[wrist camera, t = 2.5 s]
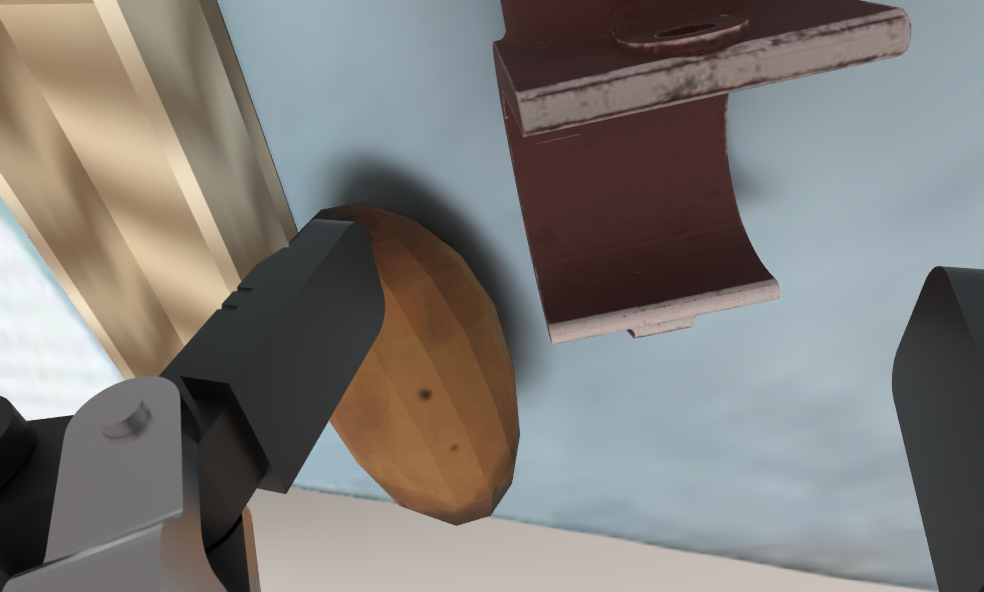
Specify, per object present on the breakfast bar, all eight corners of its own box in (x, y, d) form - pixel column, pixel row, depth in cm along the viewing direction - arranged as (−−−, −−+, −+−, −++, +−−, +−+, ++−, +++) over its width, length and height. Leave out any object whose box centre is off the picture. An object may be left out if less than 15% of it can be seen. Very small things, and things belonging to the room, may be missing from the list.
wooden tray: (-36, -55, 23) (-147, -21, 20) (192, -67, 20) (103, -29, 18) (193, 355, 36) (146, 411, 34) (349, 380, 34) (312, 442, 31)
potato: (381, 168, 28) (460, 146, 21) (505, 419, 32) (607, 470, 25) (217, 250, 26) (246, 257, 19) (376, 514, 30) (449, 601, 23)
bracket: (539, 308, 23) (593, 517, 14) (419, -311, 16) (371, -702, 7) (712, 272, 23) (881, 462, 14) (673, -373, 16) (974, -867, 6)
